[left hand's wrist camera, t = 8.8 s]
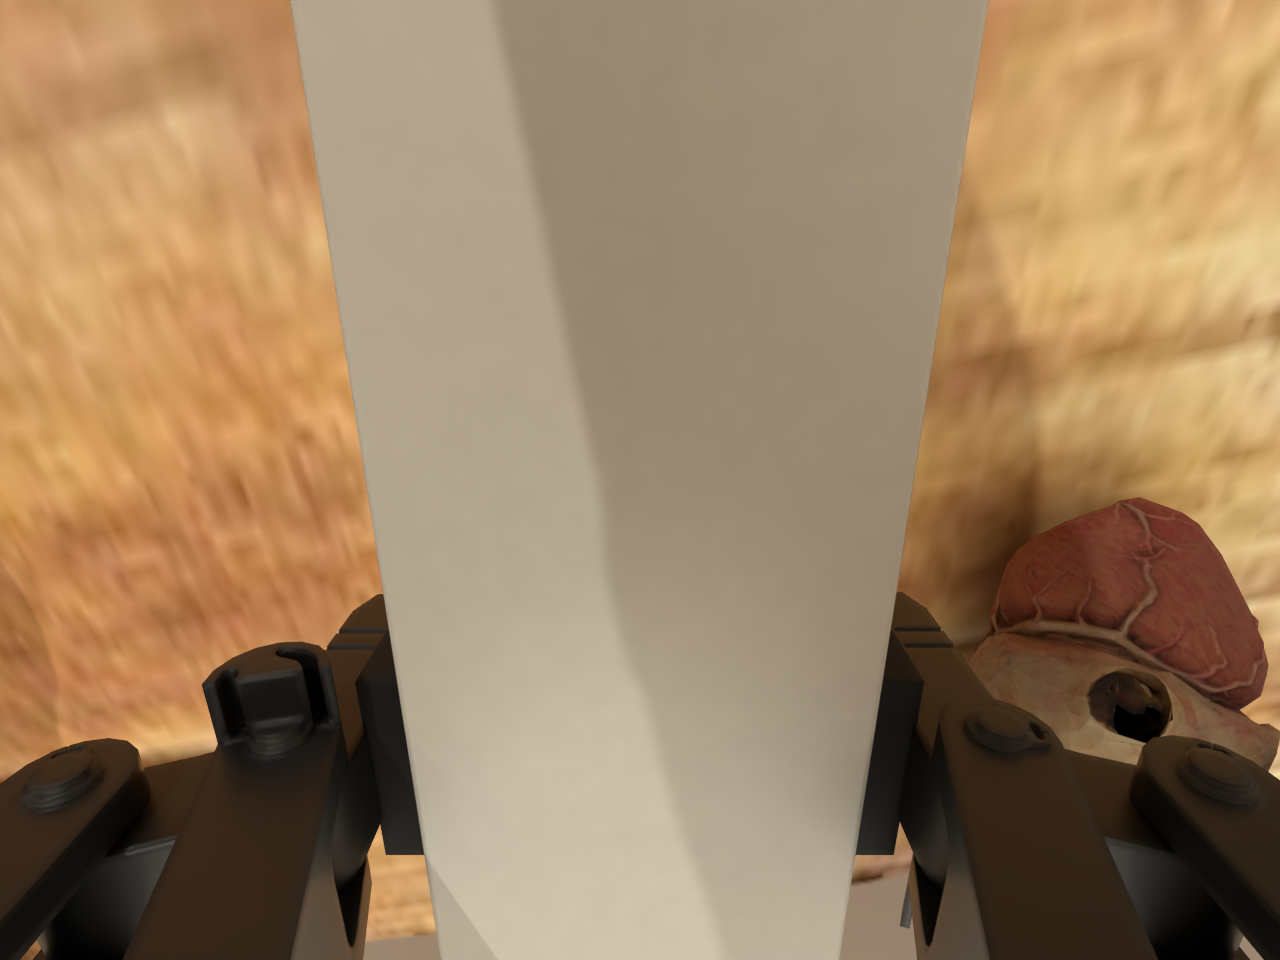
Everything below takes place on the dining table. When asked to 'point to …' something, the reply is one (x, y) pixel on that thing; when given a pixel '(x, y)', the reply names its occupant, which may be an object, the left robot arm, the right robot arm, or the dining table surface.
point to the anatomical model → (1127, 636)
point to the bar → (639, 436)
